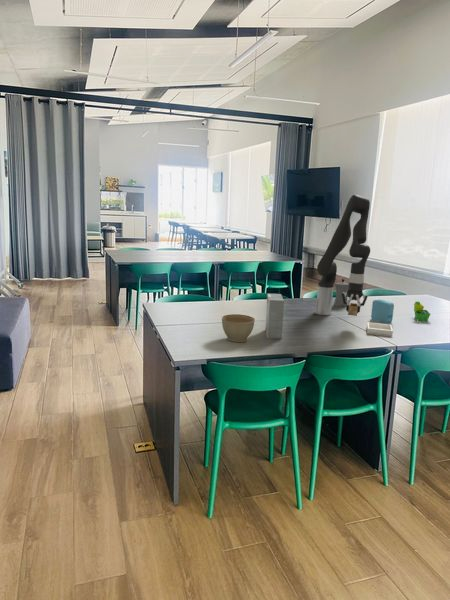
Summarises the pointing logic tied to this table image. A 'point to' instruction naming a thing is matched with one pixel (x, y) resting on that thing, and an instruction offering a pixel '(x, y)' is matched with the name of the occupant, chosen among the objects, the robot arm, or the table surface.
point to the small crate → (353, 309)
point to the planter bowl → (237, 326)
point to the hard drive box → (274, 316)
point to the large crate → (379, 329)
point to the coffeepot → (340, 289)
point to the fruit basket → (420, 312)
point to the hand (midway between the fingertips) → (352, 312)
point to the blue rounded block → (382, 311)
